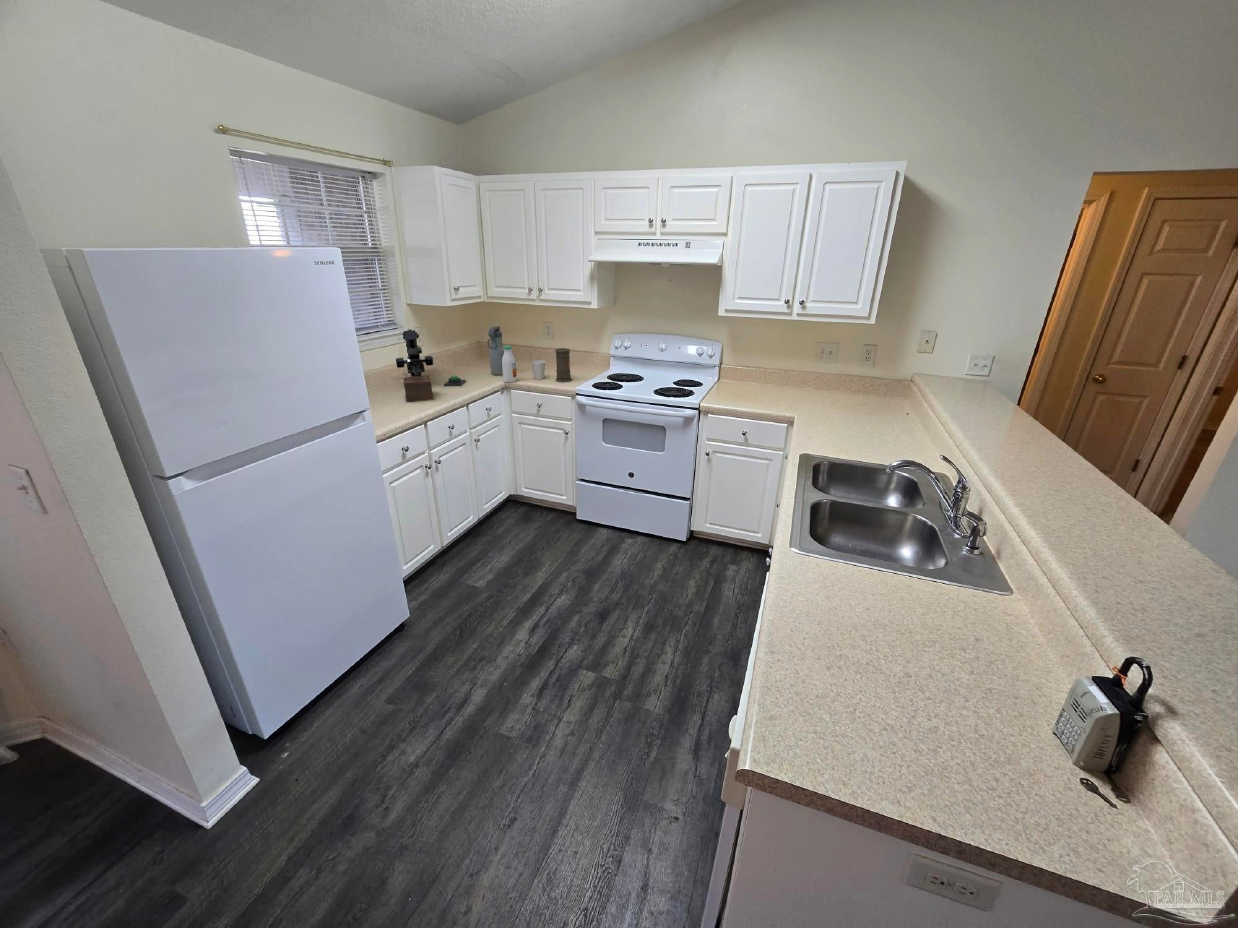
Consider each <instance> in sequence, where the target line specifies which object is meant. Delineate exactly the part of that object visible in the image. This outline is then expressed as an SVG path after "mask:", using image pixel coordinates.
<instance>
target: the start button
mask: <svg viewBox="0 0 1238 928" xmlns="http://www.w3.org/2000/svg"><path fill="white" fill-rule="evenodd" d="M458 377H459V376H458V375H451V376H450V378H451V379H458Z"/></svg>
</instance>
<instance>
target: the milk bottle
mask: <svg viewBox="0 0 1238 928" xmlns="http://www.w3.org/2000/svg"><path fill="white" fill-rule="evenodd" d="M503 348H504V355H503V358H502V370H503V375H502V380H503V381H504V382H505V383H514V382H517V380H518V377H517V364H516V359H515V356H514V354H513V352H512V350H513V347H512V345H503Z"/></svg>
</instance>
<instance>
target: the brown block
mask: <svg viewBox="0 0 1238 928" xmlns="http://www.w3.org/2000/svg"><path fill="white" fill-rule="evenodd" d="M403 386H404V392H405V399H406V403H413V402H423V401H425V402H426V401H433V400H434V394H433V388H432V380H431V376H430V375H429V374H427V375H422V376H415V377H411V376H403Z"/></svg>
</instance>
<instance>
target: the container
mask: <svg viewBox="0 0 1238 928" xmlns="http://www.w3.org/2000/svg"><path fill="white" fill-rule="evenodd" d="M554 352H555V359H556V360H555V362H556V363H555V364H556V375H555V377H556V378H555V380H556V382H559V383H566V382H567V383H568V382H571V381H572V374H571V362H570V361H571V360H570V357H571V356H570V354H571V353H570V352H571V349H570V348H567V347H561V348H555V350H554Z"/></svg>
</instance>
